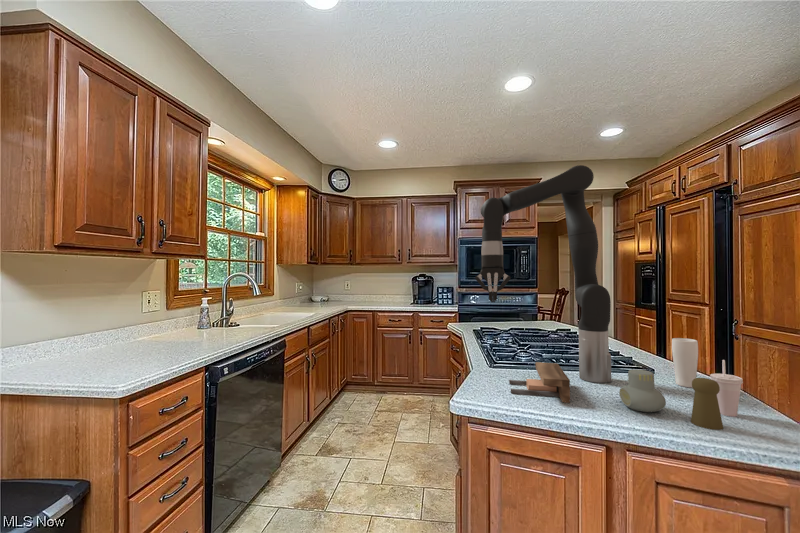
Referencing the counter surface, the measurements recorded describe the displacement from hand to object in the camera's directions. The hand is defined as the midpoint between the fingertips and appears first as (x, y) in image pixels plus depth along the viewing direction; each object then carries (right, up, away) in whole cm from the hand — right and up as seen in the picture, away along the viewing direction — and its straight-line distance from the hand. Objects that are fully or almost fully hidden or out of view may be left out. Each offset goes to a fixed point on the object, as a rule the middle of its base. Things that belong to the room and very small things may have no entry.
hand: (492, 302), depth 128 cm
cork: (+41, -26, -41) cm, 64 cm away
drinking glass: (+60, -27, -11) cm, 67 cm away
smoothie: (+52, -26, -35) cm, 68 cm away
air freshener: (+33, -26, -31) cm, 52 cm away
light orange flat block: (+11, -27, -15) cm, 33 cm away
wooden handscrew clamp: (+11, -27, -15) cm, 32 cm away
